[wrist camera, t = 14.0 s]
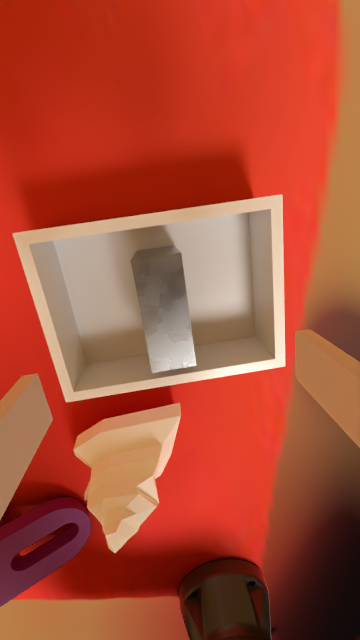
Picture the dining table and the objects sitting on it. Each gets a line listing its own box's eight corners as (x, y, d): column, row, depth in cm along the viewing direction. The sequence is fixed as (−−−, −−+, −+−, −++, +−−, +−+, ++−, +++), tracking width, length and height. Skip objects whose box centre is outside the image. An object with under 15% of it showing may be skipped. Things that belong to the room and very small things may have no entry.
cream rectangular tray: (260, 339, 35) (285, 366, 29) (82, 368, 35) (65, 402, 28) (254, 200, 30) (282, 194, 24) (44, 230, 29) (12, 233, 23)
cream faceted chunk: (196, 443, 42) (209, 568, 30) (97, 459, 43) (72, 586, 31) (179, 385, 35) (187, 519, 23) (61, 406, 36) (12, 544, 24)
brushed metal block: (186, 333, 33) (196, 365, 26) (152, 338, 33) (152, 372, 26) (174, 245, 30) (181, 252, 22) (136, 250, 30) (130, 260, 22)
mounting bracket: (69, 457, 46) (-69, 526, 38) (80, 495, 39) (-86, 589, 31) (85, 500, 49) (-39, 572, 41) (98, 542, 42) (-49, 639, 34)
